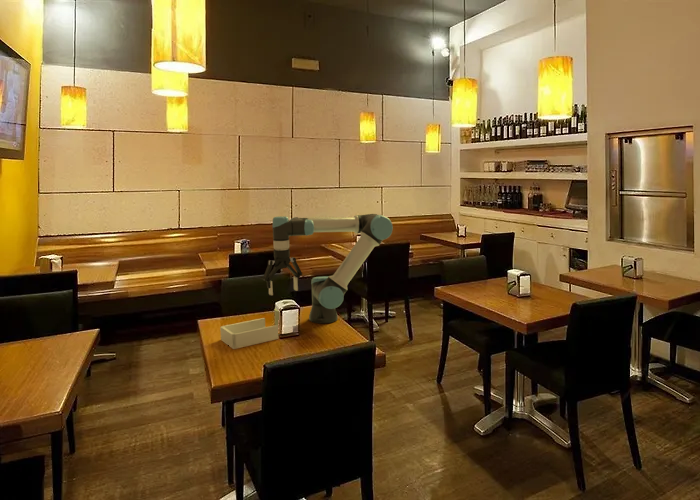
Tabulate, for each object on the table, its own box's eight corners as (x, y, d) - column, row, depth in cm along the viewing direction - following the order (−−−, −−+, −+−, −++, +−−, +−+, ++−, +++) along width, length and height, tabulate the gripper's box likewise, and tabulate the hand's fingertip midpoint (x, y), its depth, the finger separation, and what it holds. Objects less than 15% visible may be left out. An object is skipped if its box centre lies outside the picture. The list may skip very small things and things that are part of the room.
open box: (264, 330, 229) (264, 317, 228) (278, 338, 217) (278, 325, 216) (221, 339, 217) (220, 326, 216) (233, 349, 205) (232, 335, 204)
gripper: (300, 245, 231) (302, 286, 235) (254, 250, 217) (256, 295, 220) (308, 247, 225) (309, 289, 229) (260, 252, 211) (263, 298, 214)
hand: (283, 292), depth 225 cm, fingers open, 13 cm apart
